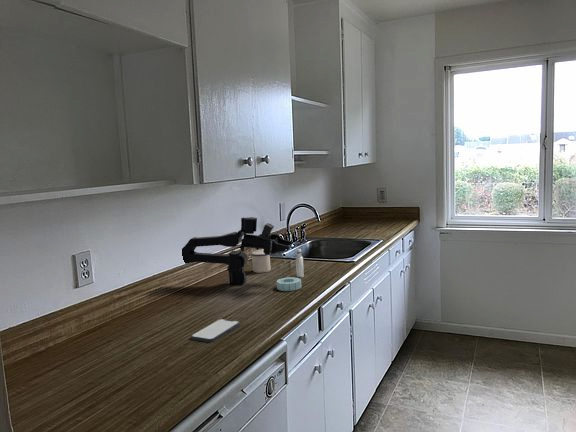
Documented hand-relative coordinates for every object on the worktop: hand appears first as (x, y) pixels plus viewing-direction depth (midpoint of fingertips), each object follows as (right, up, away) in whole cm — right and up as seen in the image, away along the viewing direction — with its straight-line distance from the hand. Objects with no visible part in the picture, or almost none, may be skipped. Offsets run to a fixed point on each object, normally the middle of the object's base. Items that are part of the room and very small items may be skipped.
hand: (290, 245), depth 205 cm
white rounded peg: (+4, -15, +11) cm, 19 cm away
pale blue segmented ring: (-1, -17, -6) cm, 18 cm away
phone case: (-24, -25, -52) cm, 62 cm away
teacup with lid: (-15, -14, +28) cm, 35 cm away
